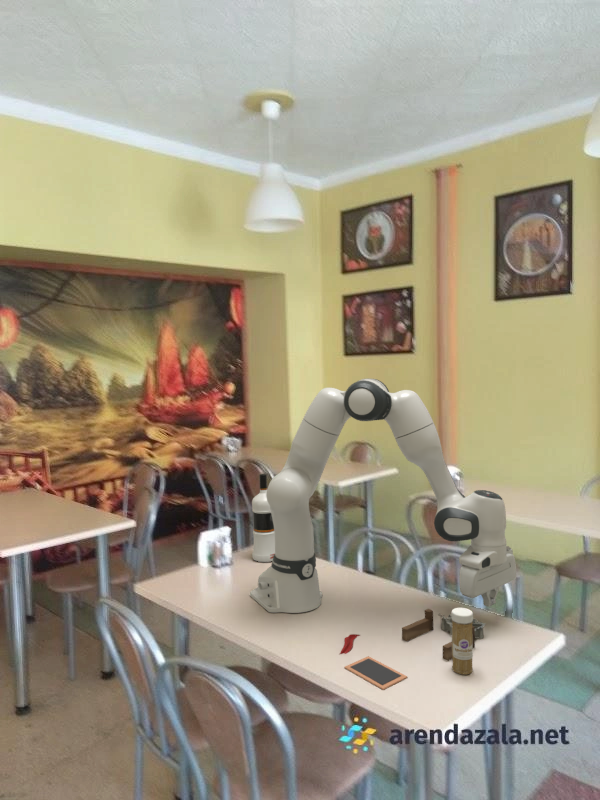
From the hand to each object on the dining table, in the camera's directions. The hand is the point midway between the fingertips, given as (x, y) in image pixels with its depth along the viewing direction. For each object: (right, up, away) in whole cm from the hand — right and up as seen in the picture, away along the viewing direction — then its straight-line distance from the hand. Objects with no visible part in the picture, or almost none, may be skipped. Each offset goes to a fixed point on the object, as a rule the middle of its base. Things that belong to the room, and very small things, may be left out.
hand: (489, 604), depth 160 cm
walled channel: (-16, -5, -12) cm, 21 cm away
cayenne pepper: (-38, -6, -11) cm, 40 cm away
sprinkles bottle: (-14, -6, -25) cm, 29 cm away
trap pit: (-33, -7, -25) cm, 42 cm away
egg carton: (-9, -5, -6) cm, 12 cm away
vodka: (-62, -2, +54) cm, 82 cm away
